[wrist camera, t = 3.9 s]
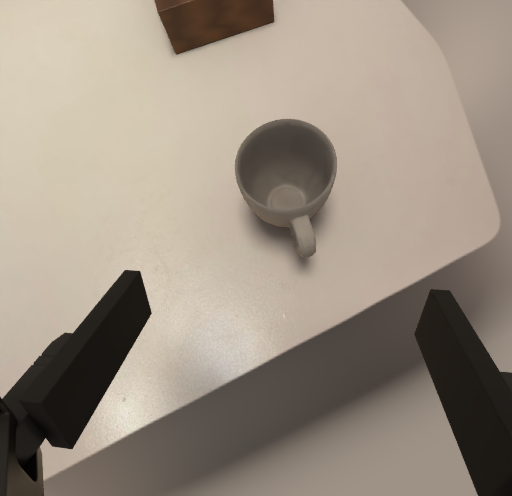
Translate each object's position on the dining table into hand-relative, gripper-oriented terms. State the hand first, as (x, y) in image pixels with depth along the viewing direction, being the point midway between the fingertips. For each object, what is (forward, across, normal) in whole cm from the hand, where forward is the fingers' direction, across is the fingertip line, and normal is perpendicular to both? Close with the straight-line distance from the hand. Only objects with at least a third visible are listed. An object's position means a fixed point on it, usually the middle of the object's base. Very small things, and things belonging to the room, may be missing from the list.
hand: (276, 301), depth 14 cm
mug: (+21, 0, -6) cm, 22 cm away
